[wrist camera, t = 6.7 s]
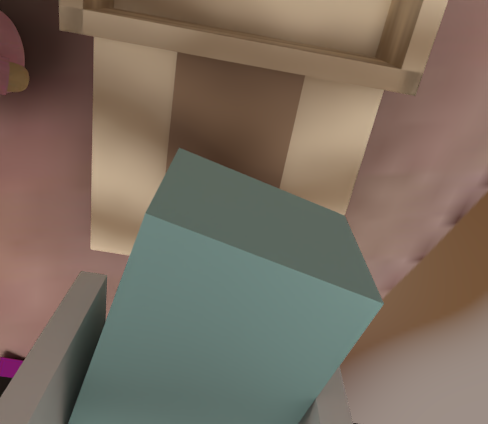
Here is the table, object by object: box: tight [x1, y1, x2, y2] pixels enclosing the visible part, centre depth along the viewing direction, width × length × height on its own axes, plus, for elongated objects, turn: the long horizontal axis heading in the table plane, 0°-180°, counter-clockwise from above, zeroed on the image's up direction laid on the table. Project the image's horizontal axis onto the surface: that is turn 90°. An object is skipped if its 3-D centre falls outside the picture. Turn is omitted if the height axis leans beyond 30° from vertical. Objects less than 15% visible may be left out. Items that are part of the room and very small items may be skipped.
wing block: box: [68, 148, 384, 424], centre depth 12 cm, size 10×5×4 cm, turn 157°
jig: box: [59, 0, 448, 255], centre depth 21 cm, size 30×16×6 cm, turn 170°
